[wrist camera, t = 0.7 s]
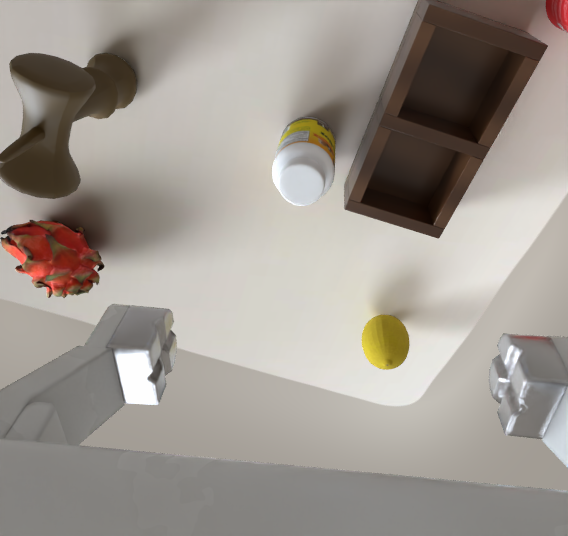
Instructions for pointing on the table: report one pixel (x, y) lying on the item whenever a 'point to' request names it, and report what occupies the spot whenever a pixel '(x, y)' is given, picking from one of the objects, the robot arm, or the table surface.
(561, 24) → the beverage can
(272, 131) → the table surface
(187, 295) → the table surface
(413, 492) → the robot arm
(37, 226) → the dragon fruit
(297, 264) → the table surface
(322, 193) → the supplement bottle
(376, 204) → the divided wooden box
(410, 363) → the table surface
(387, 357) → the lemon
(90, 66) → the kendama
